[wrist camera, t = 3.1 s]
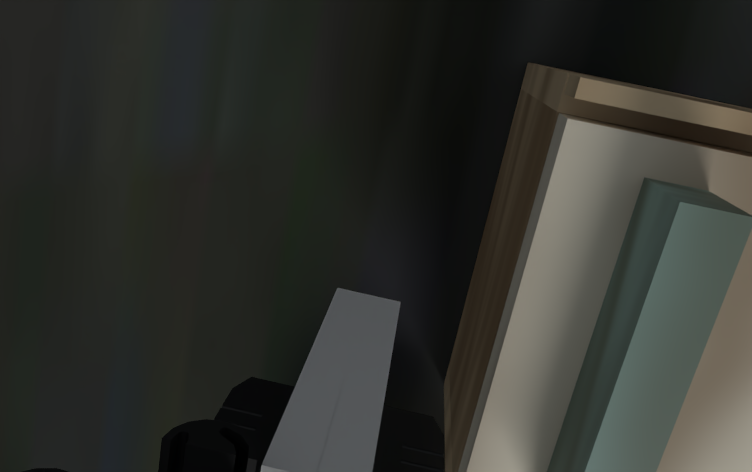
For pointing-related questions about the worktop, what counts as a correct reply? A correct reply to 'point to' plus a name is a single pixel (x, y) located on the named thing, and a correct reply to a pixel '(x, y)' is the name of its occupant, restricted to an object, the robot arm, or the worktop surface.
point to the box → (518, 191)
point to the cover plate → (574, 293)
